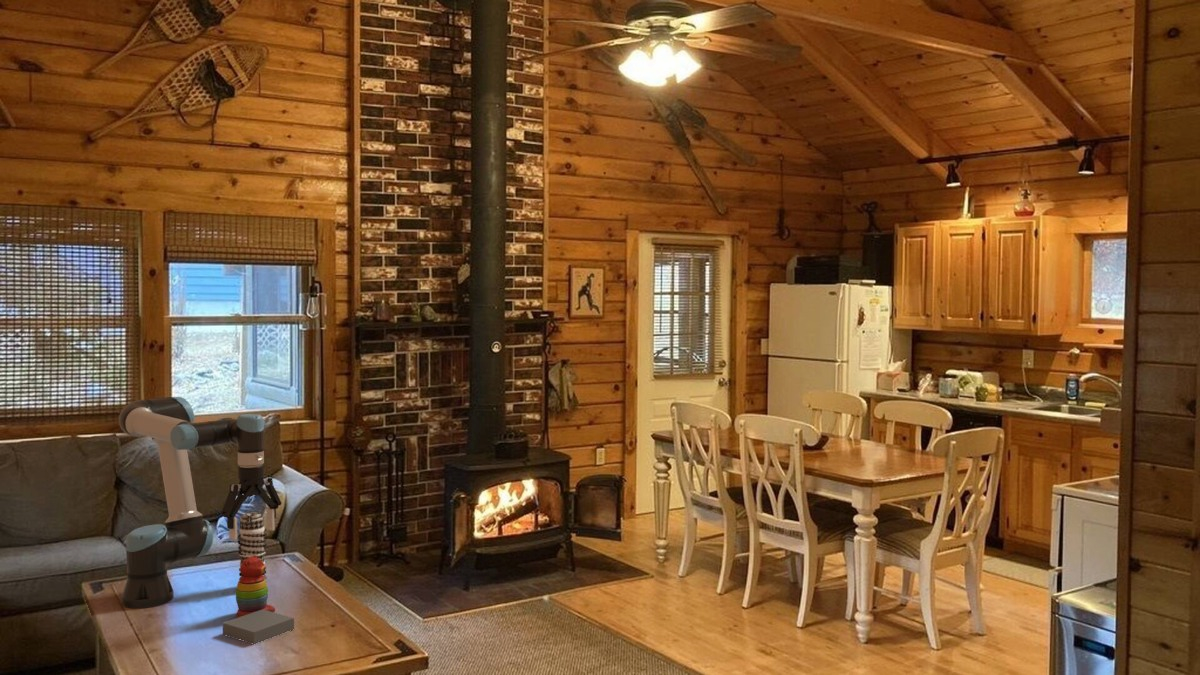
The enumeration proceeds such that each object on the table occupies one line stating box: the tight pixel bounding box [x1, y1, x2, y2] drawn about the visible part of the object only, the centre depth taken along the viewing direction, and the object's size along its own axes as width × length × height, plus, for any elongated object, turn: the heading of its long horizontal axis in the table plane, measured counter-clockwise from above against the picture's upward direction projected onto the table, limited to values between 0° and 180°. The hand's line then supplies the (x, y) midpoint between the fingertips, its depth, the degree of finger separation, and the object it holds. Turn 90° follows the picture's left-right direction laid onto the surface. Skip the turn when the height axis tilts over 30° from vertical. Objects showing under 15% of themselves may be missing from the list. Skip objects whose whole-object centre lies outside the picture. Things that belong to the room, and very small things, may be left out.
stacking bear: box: [235, 555, 276, 618], centre depth 301 cm, size 11×10×18 cm
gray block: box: [222, 609, 295, 645], centre depth 286 cm, size 14×14×4 cm
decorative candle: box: [237, 511, 268, 581], centre depth 327 cm, size 9×9×25 cm
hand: (252, 534), depth 300 cm, fingers open, 13 cm apart
